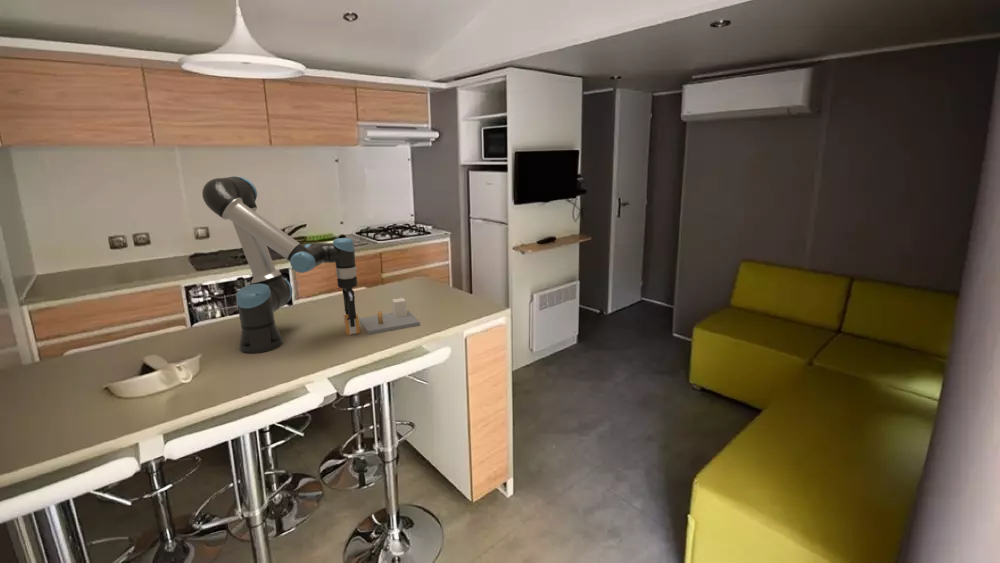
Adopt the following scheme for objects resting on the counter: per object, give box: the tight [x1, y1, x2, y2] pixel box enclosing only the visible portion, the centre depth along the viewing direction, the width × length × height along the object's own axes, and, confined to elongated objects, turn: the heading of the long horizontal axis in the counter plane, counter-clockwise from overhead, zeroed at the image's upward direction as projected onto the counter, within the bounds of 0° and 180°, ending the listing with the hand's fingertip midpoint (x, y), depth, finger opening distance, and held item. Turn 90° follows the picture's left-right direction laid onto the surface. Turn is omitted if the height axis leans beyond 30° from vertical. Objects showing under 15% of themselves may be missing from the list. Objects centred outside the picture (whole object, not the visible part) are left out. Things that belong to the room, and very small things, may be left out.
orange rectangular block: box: [343, 313, 361, 336], centre depth 199 cm, size 5×5×7 cm
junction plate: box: [358, 297, 421, 335], centre depth 208 cm, size 22×18×8 cm
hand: (351, 331), depth 200 cm, fingers closed on orange rectangular block, 5 cm apart
